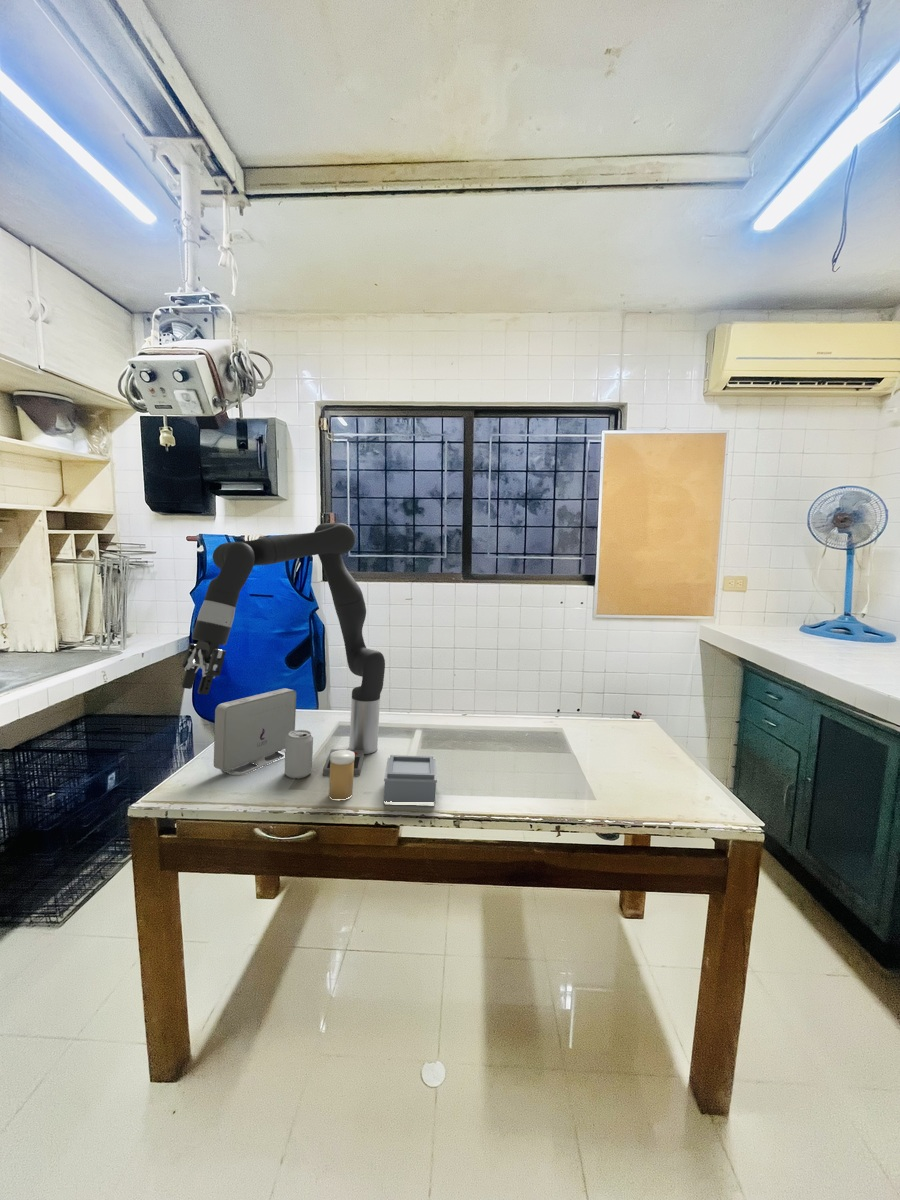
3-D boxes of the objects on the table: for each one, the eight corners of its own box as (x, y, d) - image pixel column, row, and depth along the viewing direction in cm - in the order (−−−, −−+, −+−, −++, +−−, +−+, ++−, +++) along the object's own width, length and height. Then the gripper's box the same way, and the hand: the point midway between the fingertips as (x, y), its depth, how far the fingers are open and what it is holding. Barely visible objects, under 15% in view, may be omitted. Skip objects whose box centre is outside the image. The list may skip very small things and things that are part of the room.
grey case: (386, 781, 131) (388, 754, 130) (433, 783, 132) (435, 755, 131) (382, 805, 118) (384, 774, 117) (435, 807, 118) (437, 776, 118)
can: (303, 781, 128) (305, 738, 127) (278, 777, 130) (280, 735, 129) (316, 770, 135) (318, 730, 135) (293, 767, 137) (294, 727, 136)
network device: (227, 781, 125) (229, 709, 124) (206, 773, 129) (209, 703, 128) (299, 752, 148) (301, 690, 147) (279, 746, 152) (282, 685, 151)
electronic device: (364, 749, 149) (360, 768, 134) (364, 756, 149) (359, 777, 134) (331, 748, 148) (323, 768, 133) (330, 755, 148) (322, 776, 133)
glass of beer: (330, 789, 124) (332, 749, 124) (354, 790, 125) (356, 750, 124) (326, 801, 118) (328, 758, 118) (350, 801, 119) (352, 759, 118)
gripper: (244, 628, 108) (224, 698, 105) (215, 624, 117) (196, 688, 114) (212, 620, 103) (190, 694, 100) (185, 617, 112) (164, 684, 109)
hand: (194, 691), depth 107 cm, fingers open, 8 cm apart
